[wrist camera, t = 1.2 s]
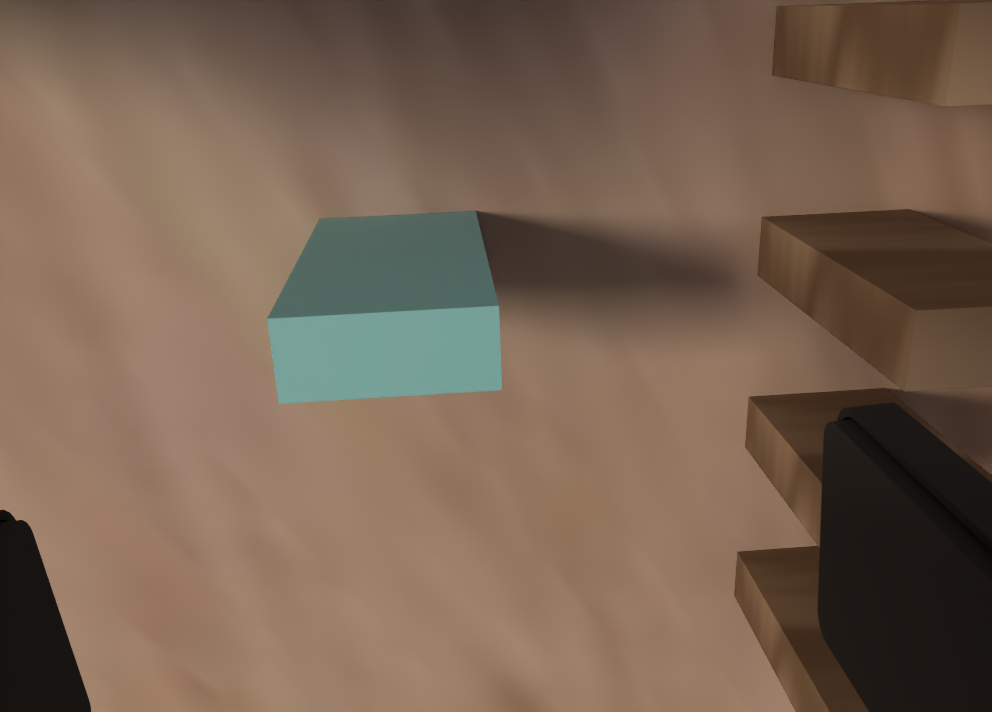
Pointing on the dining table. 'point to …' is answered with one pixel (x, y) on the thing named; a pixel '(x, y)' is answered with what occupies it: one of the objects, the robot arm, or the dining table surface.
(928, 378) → the domino
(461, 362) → the teal domino
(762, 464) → the domino
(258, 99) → the dining table surface
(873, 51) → the domino
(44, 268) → the dining table surface
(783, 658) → the domino
